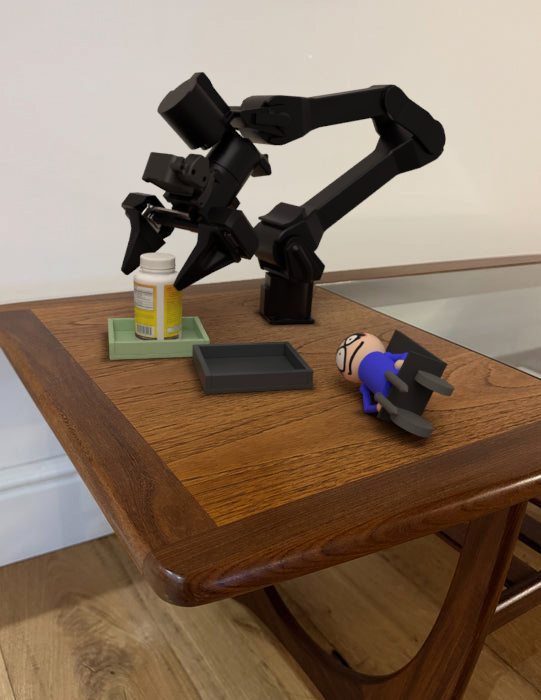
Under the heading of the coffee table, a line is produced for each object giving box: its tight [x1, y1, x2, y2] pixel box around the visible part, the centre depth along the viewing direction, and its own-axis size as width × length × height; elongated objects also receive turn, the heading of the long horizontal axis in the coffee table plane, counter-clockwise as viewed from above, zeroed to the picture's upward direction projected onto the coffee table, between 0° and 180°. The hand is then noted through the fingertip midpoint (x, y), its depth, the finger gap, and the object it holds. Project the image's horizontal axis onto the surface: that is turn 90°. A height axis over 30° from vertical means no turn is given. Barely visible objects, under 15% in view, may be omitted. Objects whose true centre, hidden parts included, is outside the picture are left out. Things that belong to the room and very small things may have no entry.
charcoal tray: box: [191, 341, 314, 395], centre depth 66 cm, size 11×9×2 cm
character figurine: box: [335, 329, 455, 438], centre depth 58 cm, size 8×7×15 cm
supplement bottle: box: [133, 252, 183, 341], centre depth 72 cm, size 6×6×10 cm
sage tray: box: [107, 315, 211, 361], centre depth 74 cm, size 11×9×2 cm
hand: (148, 280), depth 70 cm, fingers open, 9 cm apart
